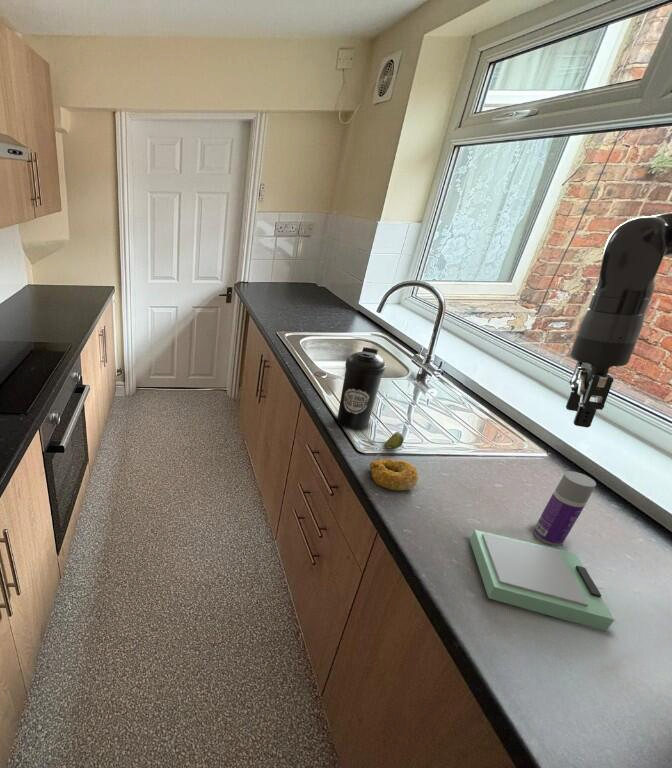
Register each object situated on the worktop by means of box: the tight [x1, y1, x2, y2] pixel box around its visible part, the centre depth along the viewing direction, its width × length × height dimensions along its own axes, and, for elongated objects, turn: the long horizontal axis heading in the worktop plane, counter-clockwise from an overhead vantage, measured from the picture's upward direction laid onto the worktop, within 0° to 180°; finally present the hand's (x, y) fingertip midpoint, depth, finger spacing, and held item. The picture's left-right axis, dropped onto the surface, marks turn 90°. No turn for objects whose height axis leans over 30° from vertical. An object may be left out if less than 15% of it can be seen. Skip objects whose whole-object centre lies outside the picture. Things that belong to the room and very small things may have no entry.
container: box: [533, 470, 597, 546], centre depth 82 cm, size 5×5×15 cm
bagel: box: [369, 458, 419, 491], centre depth 100 cm, size 10×11×5 cm
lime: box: [384, 431, 405, 450], centre depth 112 cm, size 4×5×5 cm
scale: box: [469, 529, 615, 632], centre depth 75 cm, size 16×14×4 cm
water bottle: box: [336, 346, 387, 431], centre depth 120 cm, size 10×10×23 cm
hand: (576, 417), depth 80 cm, fingers open, 8 cm apart
